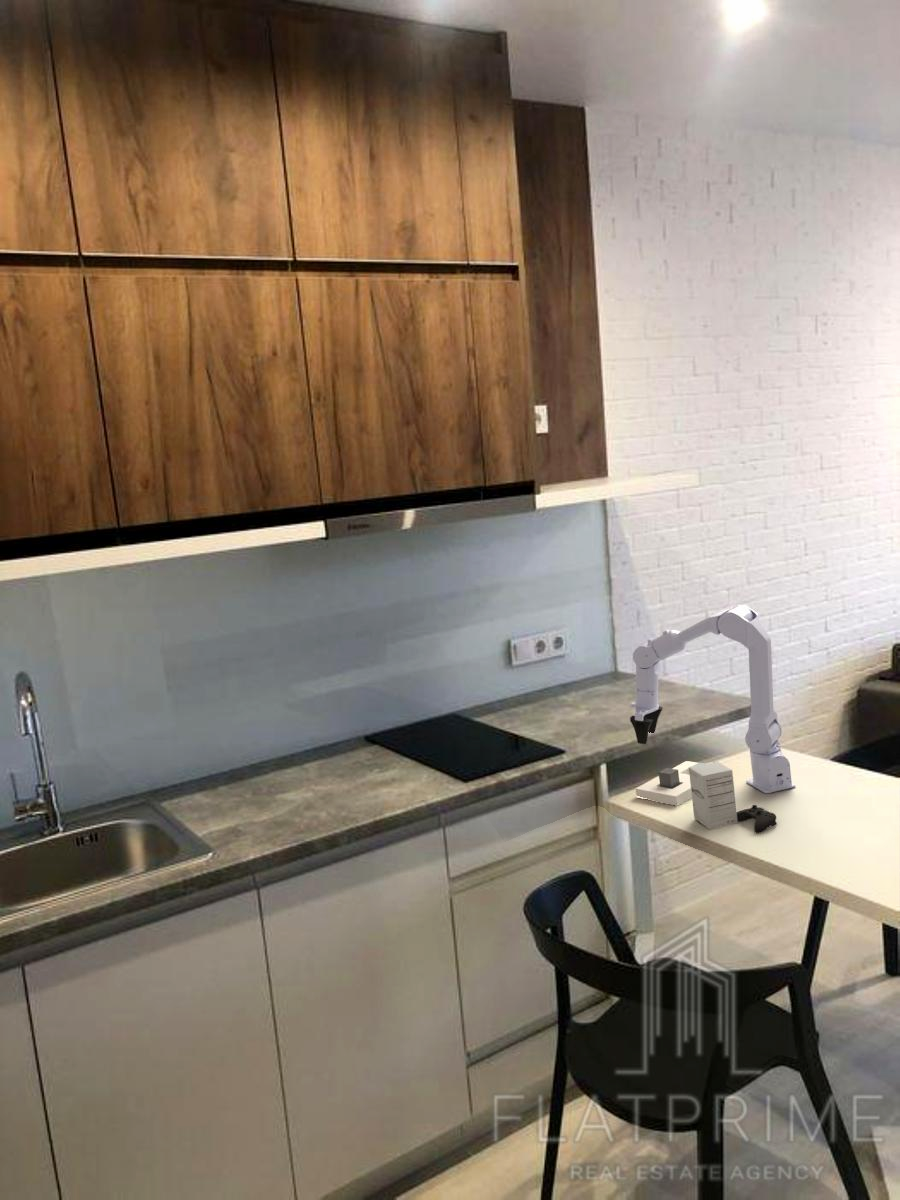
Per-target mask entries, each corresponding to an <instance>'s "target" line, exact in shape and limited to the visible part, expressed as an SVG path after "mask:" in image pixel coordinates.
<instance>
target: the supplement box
mask: <svg viewBox="0 0 900 1200" xmlns="http://www.w3.org/2000/svg"><path fill="white" fill-rule="evenodd" d="M703 763H704V762H703ZM733 774H734V773H733V769H731V768H729V767H728V766H726V765H724V764H722V763H721V762H719V761H717V760H715V761H709V762H705V763H704V764H700V765H695V766H691V767H689V775H690V784H691V793H692V798H691V801H692V809H693V810H692V811H693V818H694V819H695V820H696V821H698V822H700V824H702V825H703V826H705V827H706V829H708V830H712V828H713V829H717V828H716V827H718V828H721V827H720V826H722V827H725V826H731V825H734V824H738V823H739V822H738V820H737V812H738V810H737V803H736V793H735V784H734V783H735V782H734V775H733Z"/></svg>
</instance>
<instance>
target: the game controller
mask: <svg viewBox="0 0 900 1200" xmlns="http://www.w3.org/2000/svg"><path fill="white" fill-rule="evenodd" d="M751 819H753V820H754V829H753V831H754V832H756V834H761V832H762V833H763V832H765V831H766V830H767V829H769V828H770V827H775V826H777V825H778V823H777V820H776V819H777V815H776V814H775V813H773V812H771V811H769V810H766V809H765V808H763V807H758V805H756V804H753V805H751V807H749V808H746V809H741V810H739V811H738V810H737V820H738V823H743V822H746V821H748V820H751Z"/></svg>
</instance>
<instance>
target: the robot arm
mask: <svg viewBox="0 0 900 1200" xmlns="http://www.w3.org/2000/svg"><path fill="white" fill-rule="evenodd" d="M709 633H712V634H715V635H718V636H719V635H723V636H724V637H725V638H728V639H730V640H732V641H735V642H738V643H740V644H741V645H743V646H744V647H745V648H746V649H747V650H748V665H749V688H750V689H749V692H750V710H751V711H750V717H749V721H748V728H747V729H748V730H747V732H746V733H745V738H744V739H745V744H746V746H747V747H748V749H749V755H750V764H751V773H752V778H750V779H747V780H746V781H745V782H746V783H747V784H749V785H750V786H752V787H753V788H755V789H758V790H759V791H761V792H763V794H764V793H765V794H770V793H774V792H778V791H782V790H783V791H784V790H788V789H792V788H796V784H794V783H793V782H792V773H791V764H790V761H789V759H788V758H787V757H786V756H785V755H784V754H783V752H782V748H781V744H780V742H779V739H780V738H781V736H782V733H783V731H782V727H781V724H780V722H779V720H778V713H777V712H776V710H774V690H773V663H772V659H773V658H772V640H771V636H770V634H769V633H768V632H767V630H766V628H765V626H764V625H763V624H762V621H760V617H759V613H757V612H756V611H754V610H753V609H752V608H750V607H749V606H747V605H744V604H739V605H736V606H734V607H733V608H731V609H730V608H727V609H724V610H722V611H719V612H716V613H714V614H711V615H710V616H708V617H706V618H704V619H702V620H699V622H696V623H695V624H693V625H691V626H689V627H686V628H685V629H684V630H681V631H679V630H676V629H671V630H669V629H667V630H664V631H662V634H661V635H659V636H657V637H656V638H652V637H651V638H649V639H647V641H646V642H645V643H642V644H641V645H639V646H638V647H636V648H635V649H634V651H633V653H632V661H633V662H634V664H635V701H632V702H631V704H630V706H631V707H632V708H634V710H635V712H634V715H631V716H630V717H629V720H630V721H629V722H630V723H631V725H632V727H633V729H634V732H635V737H636V742H637V743H638V744H642V745H646V744H647V742H648V737H649V734H648V732H649V733H650V732H651V733H654V732H656V728H657V725H658V721H659V718H660V715H661V713H662V711H663V706H660V705H659V674H660V673H659V665H660V664H659V663H660V661H663V660H666V659H668V658H670V657H672V656H674V655H676V654H678V653H681V652H683V651H684V650H685V647H686V645H687V643H688V642H691V641H694V640H696V639H698V638H700V637H703V636H705V635H707V634H709ZM654 734H655V733H654Z"/></svg>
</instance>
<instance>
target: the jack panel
mask: <svg viewBox="0 0 900 1200" xmlns="http://www.w3.org/2000/svg"><path fill="white" fill-rule="evenodd" d="M700 764H704V762H696V761H695V762H694V761H689V760H688V761H687V760H686V761H683V762H682V763H680V764H678V765H676V766H674V767H673V768H671V769H676V770H678V773H679V782H680V785H679V786H677V787H675V788H673V789H669V788H664V787H660V780H659V775H658V776H656V777H654V778H652V779H650V780H649V781H646V782H645V783H643V784H641V785H639V786H638V787H635V796H636V795H637V796H640V797H643V798H647V799H650V800H654V801H657V802H656V803H658V802H662V803H661V804H663V803H667V804H666V805H668V804H672V805H671V806H673V805H675V806H674V807H679V806H680V804H681V805H683V804H684V803H686V802H687V801H689V800H692V793H691V784H690V775H689V767H691V766H695V765H700ZM685 801H686V802H685ZM678 805H679V806H678Z"/></svg>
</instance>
